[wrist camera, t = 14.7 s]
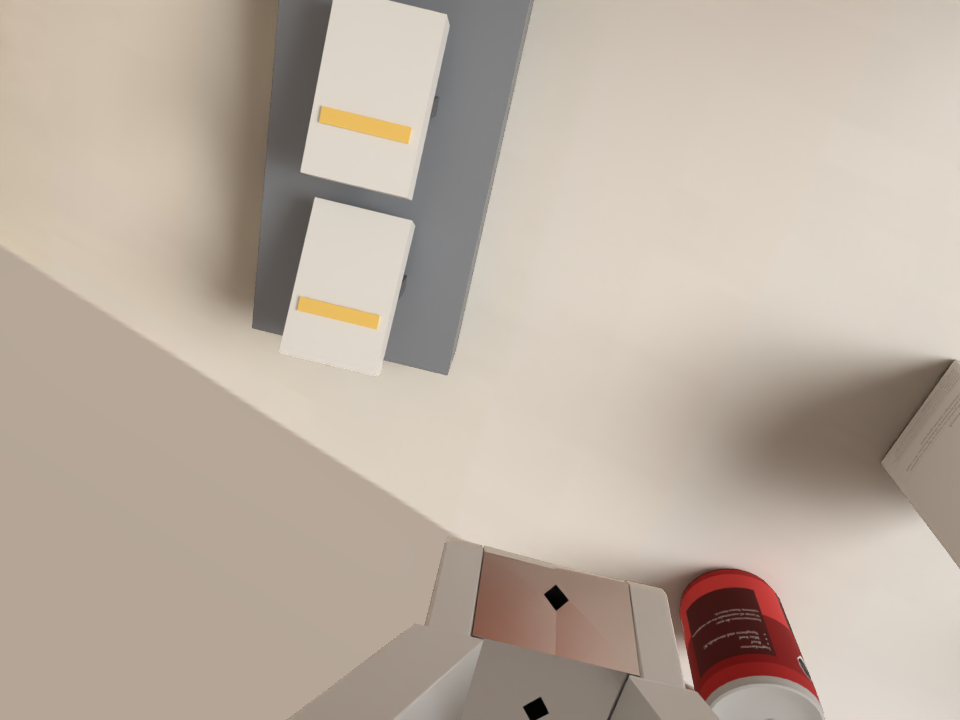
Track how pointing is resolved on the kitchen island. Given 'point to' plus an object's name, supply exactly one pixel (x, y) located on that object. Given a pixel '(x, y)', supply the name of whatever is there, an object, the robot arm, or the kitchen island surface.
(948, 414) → the supplement box
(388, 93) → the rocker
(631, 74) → the kitchen island surface
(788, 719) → the canned food
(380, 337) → the block
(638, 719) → the robot arm
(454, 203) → the console
